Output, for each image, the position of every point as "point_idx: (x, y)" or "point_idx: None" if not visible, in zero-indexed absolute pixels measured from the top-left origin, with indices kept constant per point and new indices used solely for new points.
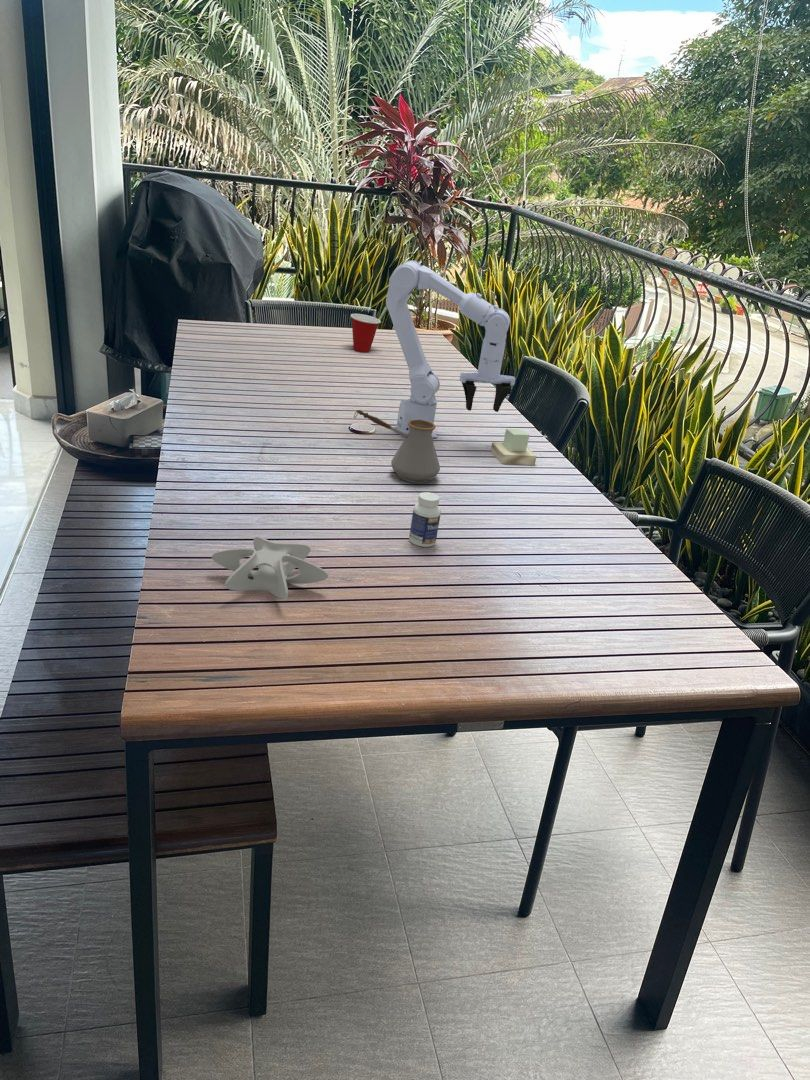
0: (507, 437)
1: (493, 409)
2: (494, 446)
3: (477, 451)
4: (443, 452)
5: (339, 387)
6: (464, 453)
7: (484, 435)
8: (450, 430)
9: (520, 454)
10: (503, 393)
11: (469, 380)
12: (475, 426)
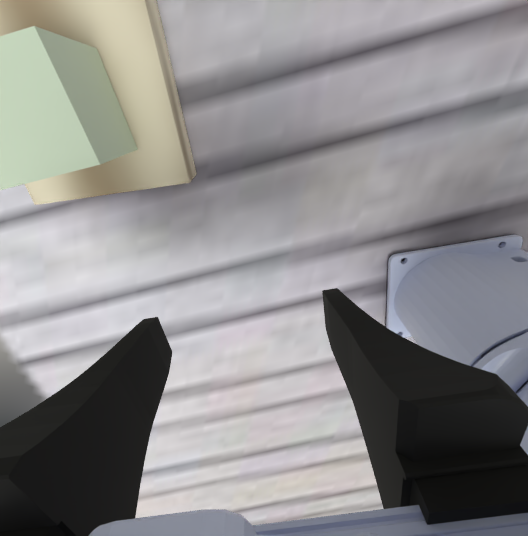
0: (100, 117)
1: (170, 348)
2: (181, 142)
3: (254, 153)
4: (416, 95)
5: None
6: (320, 108)
7: (203, 327)
8: (313, 339)
9: (34, 6)
10: (55, 416)
11: (489, 523)
12: (223, 387)
